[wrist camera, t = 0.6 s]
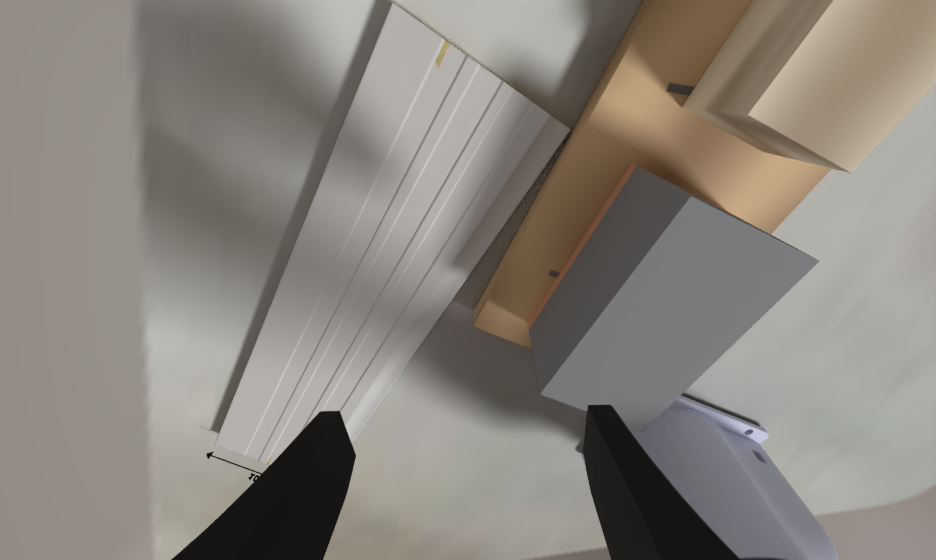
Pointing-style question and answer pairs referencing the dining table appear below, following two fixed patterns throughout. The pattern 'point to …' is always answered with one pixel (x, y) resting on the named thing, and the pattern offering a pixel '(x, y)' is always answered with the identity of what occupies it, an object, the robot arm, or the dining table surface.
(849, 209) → the dining table surface
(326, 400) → the baseboard
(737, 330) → the block
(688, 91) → the board
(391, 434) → the dining table surface
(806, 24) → the beige cube
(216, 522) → the robot arm
